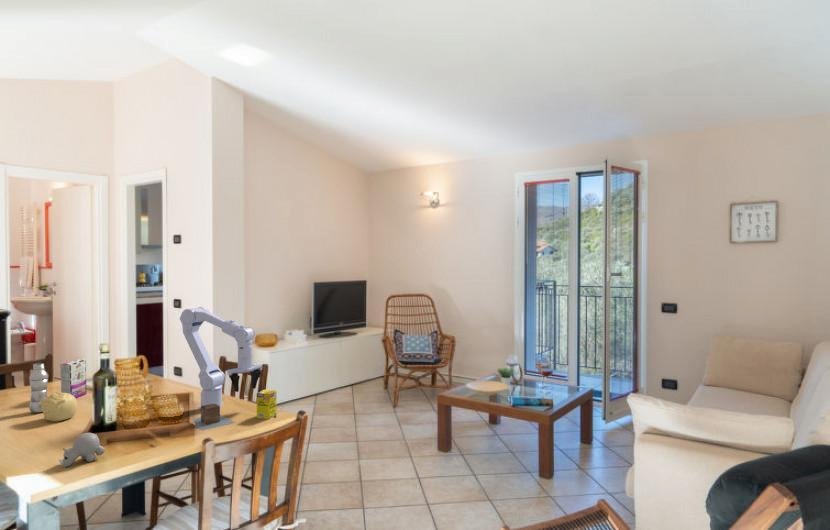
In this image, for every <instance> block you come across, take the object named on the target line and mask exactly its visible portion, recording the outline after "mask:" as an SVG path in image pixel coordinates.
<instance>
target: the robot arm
mask: <svg viewBox="0 0 830 530" xmlns="http://www.w3.org/2000/svg"><path fill="white" fill-rule="evenodd" d="M179 320H180V322H181V326H182V333H183V336H184V338H185V340H186V343H187V344H188V347H189V348H190V351H191V353H192V355H193V357H194V359H195V361H196V363H197V365H198V367H199V369H200V370H199V373H198V378H199V385H200V387H201V389H202V390H201V392H200V407H198V409H199V410H201V406H204V405H209V404H216V405H218V406H220V409H221V408H222V407H223V385H224V384H225V382H226V375H227V376H228V378H229V379H230V381H231V382H232V386H233V389H234V392H236V393H238V392H239V389H240V386H239V384H240V378H241V376H240V375H239V374H243V373H250V377H251V388H252V389H256V388H257V384H258V380H259V378H260V377H261V375H262V371H263V365H261V364H257V365H253V340H254V338H255V335H256V333H255V330H254V328H252V327H250V326H247V327H245V325H244V324H239V323H237V322H236V320H234V319H227V320H224V319H223V318H222V317H219V316H218V315H217V314H214V312H213V313H212V312H211V311H210V310H209V309H206V308H204V307H202V306H199V307H196V308H187V309H184V310H183V311H182V312H181V314H180V317H179ZM204 322H206V323H209V324H211V325H213V326H216V327H217V328H221V331H222V333H224V334H226V335H228V336H230V337H232V338H234V339H235V341H236V343H237V344H236V346H237V367H236V368H231V369H227V374H225V373H224V372H223V371H222V370H221V369H220V367H219V366H217V365H216V364H214V363H213V360H212V358H211V356H210V355H209V352H208V349H207V347H206V346H205V343H204V341H203V339H202V337H201V335H200V333H199V329H200V327H201V326H202V325H203V323H204Z"/></svg>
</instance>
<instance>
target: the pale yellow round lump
mask: <svg viewBox="0 0 830 530" xmlns="http://www.w3.org/2000/svg"><path fill="white" fill-rule="evenodd" d="M40 404H41V409H42V411H43V412H42V413H43V414H42V415H43V417H44V419H45V420H46V421H49V422H57V423H58V422H61V421H65V420H68V419H70V418H72V417H74V416H75V415H76V413H77V411H78V408H79V406H78V405H79V404H78V400H77V398H75V397H74V396H73V395H71V394H69V393H61V391H60V392H59V391H57V392H54V393H52V394H49V395H47V396H46V397H45V398H44V399H42V400H41V402H40Z"/></svg>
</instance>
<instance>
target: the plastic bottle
mask: <svg viewBox="0 0 830 530" xmlns="http://www.w3.org/2000/svg"><path fill="white" fill-rule="evenodd" d="M32 366H33V367H32V369H33V371H32V372H31V374H30V375H29V377H28V380H29V385H30V386H29V387H30V401H29V406H28V408H29V411H30V413H31V414H32V413H33V414H36V413H38V414H39V413H43V411H42V409H41V404H40V402H41V400H42V399H44V398H45V397H46V396H48V382H49V373H48V372H47V371H46V370H45V363H43V362H42V363H40V362H38V363H34V364H32Z"/></svg>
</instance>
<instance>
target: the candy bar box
mask: <svg viewBox="0 0 830 530" xmlns="http://www.w3.org/2000/svg"><path fill="white" fill-rule="evenodd" d="M86 360H87V359H86V358H85V359H78V358H76V359H72V360H70V361H68V362H64V363H61V364H60V367H59V368H60V393H69V394H71V395H73V396H74V397H75V398H76V399H77V398H80V397H82V396H85V395H86V394H87V393H88V392H87V369H86V368H87V365H86V363H87V361H86Z"/></svg>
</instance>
